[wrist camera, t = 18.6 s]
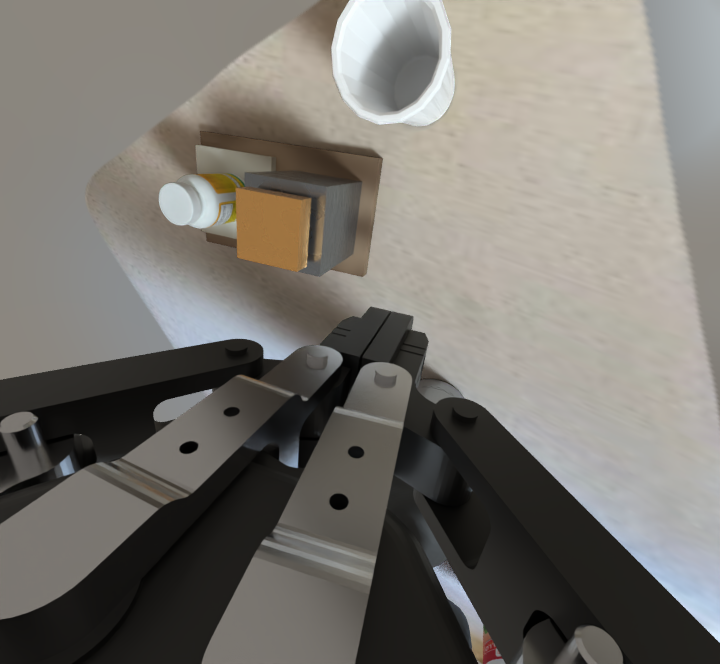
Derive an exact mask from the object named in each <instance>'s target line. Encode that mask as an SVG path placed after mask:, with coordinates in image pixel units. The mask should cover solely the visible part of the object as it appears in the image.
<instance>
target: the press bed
mask: <svg viewBox="0 0 720 664" xmlns="http://www.w3.org/2000/svg"><path fill="white" fill-rule="evenodd" d="M200 135H201V145H195V148H196V163H197V174H217V173H231V174H235V175H237V176H239V177H240V178H241V179H242V180H243V181H244V182H245V172H266V171H292V170H296V171H302V172H308V173H314V174H320V175H326V176H332V177H338V178H344V179H349V180H355V181H361V182H362V189H361V197H360V206H359V214H358V222H357V230H356V238H355V246H354V254H353V255H351V256H350V257H348V258H347V259H345V260H344V261H342V262H341V263H339V264H338V265H336V266H335V267H333V268H332V269H330V270H335V271H339V272H343V273H348V274H352V275H357V276H361V277H363V276H364V275H365V274H366V273H367V266H368V259H369V252H370V245H371V238H372V231H373V224H374V217H375V210H376V203H377V196H378V189H379V182H380V175H381V168H382V161H383V159H382V158H376V157H369V156H363V155H356V154H350V153H343V152H337V151H330V150H323V149H317V148H310V147H304V146H297V145H291V144H284V143H278V142H271V141H265V140H258V139H251V138H245V137H238V136H232V135H225V134H219V133H212V132H204V131H200ZM201 231H203V232H206V237H207V241H208V242H213V243H217V244H221V245H226V246H230V247H234V248H237V224H236V221H234V222H230V223H226V224H221V225H217V226H212V227H208V228H201Z"/></svg>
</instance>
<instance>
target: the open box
mask: <svg viewBox="0 0 720 664" xmlns="http://www.w3.org/2000/svg"><path fill="white" fill-rule="evenodd" d="M245 187H255V188H260V189H265V190H271V191H276V192H282V193H287V194H292V195H298V196H303V197H308V198H311V212H310V227H309V242H308V257H307V267H305V268H303V269H301V270H299V271H298V272H302V273H306V274H310V275H315V276H319V277H320V276H321V275H323V274H324V273H326V272H327V271H329V270H330V269H332V268H333V267H335V266H336V265H338V264H339V263H341V262H342V261H344V260H345V259H347V258H348V257H350V256H351V255H353V254H354V246H355V238H356V230H357V222H358V214H359V206H360V197H361V189H362V182H361V181H355V180H349V179H344V178H338V177H332V176H326V175H320V174H314V173H308V172H302V171H296V170H292V171H266V172H245Z"/></svg>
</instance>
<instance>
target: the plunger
mask: <svg viewBox="0 0 720 664" xmlns="http://www.w3.org/2000/svg"><path fill="white" fill-rule="evenodd" d="M310 212H311V198H308V197H303V196H298V195H292V194H287V193H282V192H276V191H271V190H265V189H260V188H255V187H239V188H236V224H237V258H240V259H245V260H249V261H253V262H257V263H262V264H266V265H270V266H274V267H279V268H283V269H287V270H291V271H295V272H298V271H299V270H301V269H303V268H305V267H307V257H308V242H309V227H310Z"/></svg>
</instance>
